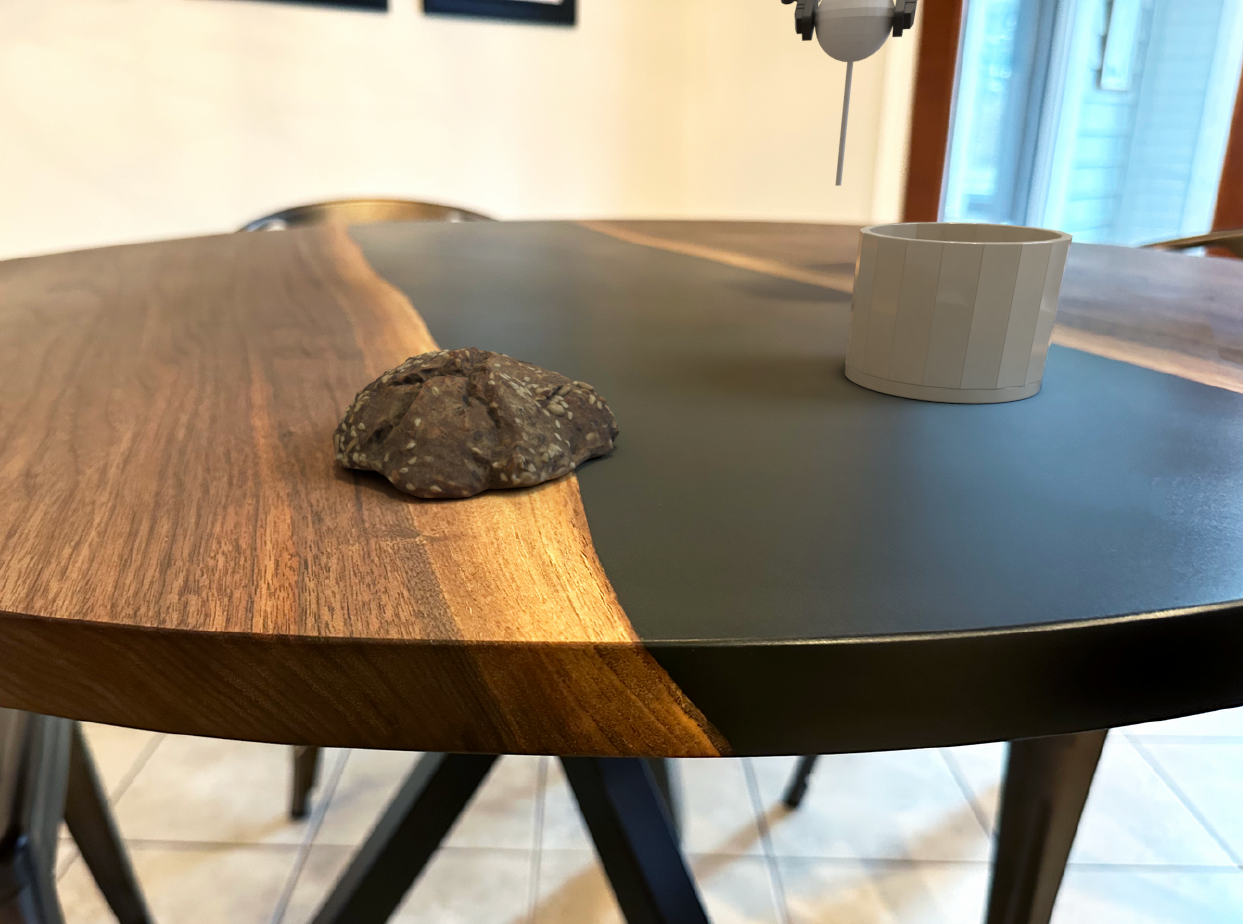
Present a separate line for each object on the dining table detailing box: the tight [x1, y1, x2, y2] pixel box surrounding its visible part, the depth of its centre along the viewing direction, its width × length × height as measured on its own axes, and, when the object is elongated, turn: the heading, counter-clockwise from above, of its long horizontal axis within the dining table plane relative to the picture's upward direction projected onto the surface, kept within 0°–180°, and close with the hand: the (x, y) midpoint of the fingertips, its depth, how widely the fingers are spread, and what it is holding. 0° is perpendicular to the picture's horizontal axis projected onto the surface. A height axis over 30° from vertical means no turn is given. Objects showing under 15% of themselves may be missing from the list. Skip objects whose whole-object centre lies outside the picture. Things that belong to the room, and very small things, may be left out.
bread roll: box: [332, 346, 621, 499], centre depth 44 cm, size 13×12×5 cm
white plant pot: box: [844, 221, 1074, 404], centre depth 55 cm, size 11×11×8 cm
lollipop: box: [814, 0, 895, 187], centre depth 74 cm, size 6×6×15 cm
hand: (851, 28), depth 71 cm, fingers closed on lollipop, 6 cm apart
